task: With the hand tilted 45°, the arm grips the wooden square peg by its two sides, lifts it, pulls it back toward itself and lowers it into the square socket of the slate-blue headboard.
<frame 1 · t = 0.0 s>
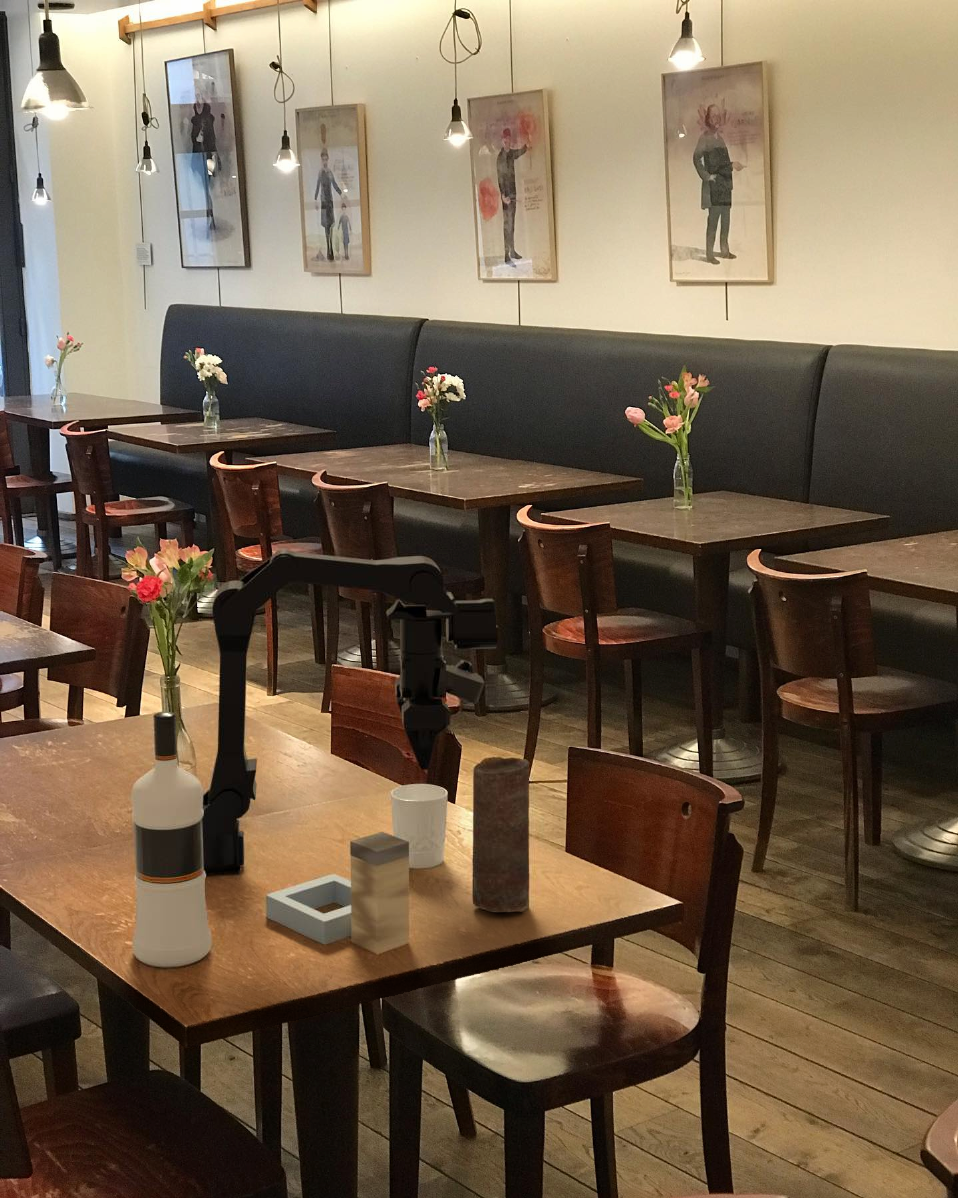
hand: (421, 759, 221), 15 cm above the table, tool pointing down, fingers open, 9 cm apart
brown textured cylinder: (500, 911, 207), on the table
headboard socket: (329, 919, 203), on the table
wooden square peg: (380, 942, 196), on the table
white cup: (419, 862, 224), on the table
vodka: (172, 956, 192), on the table
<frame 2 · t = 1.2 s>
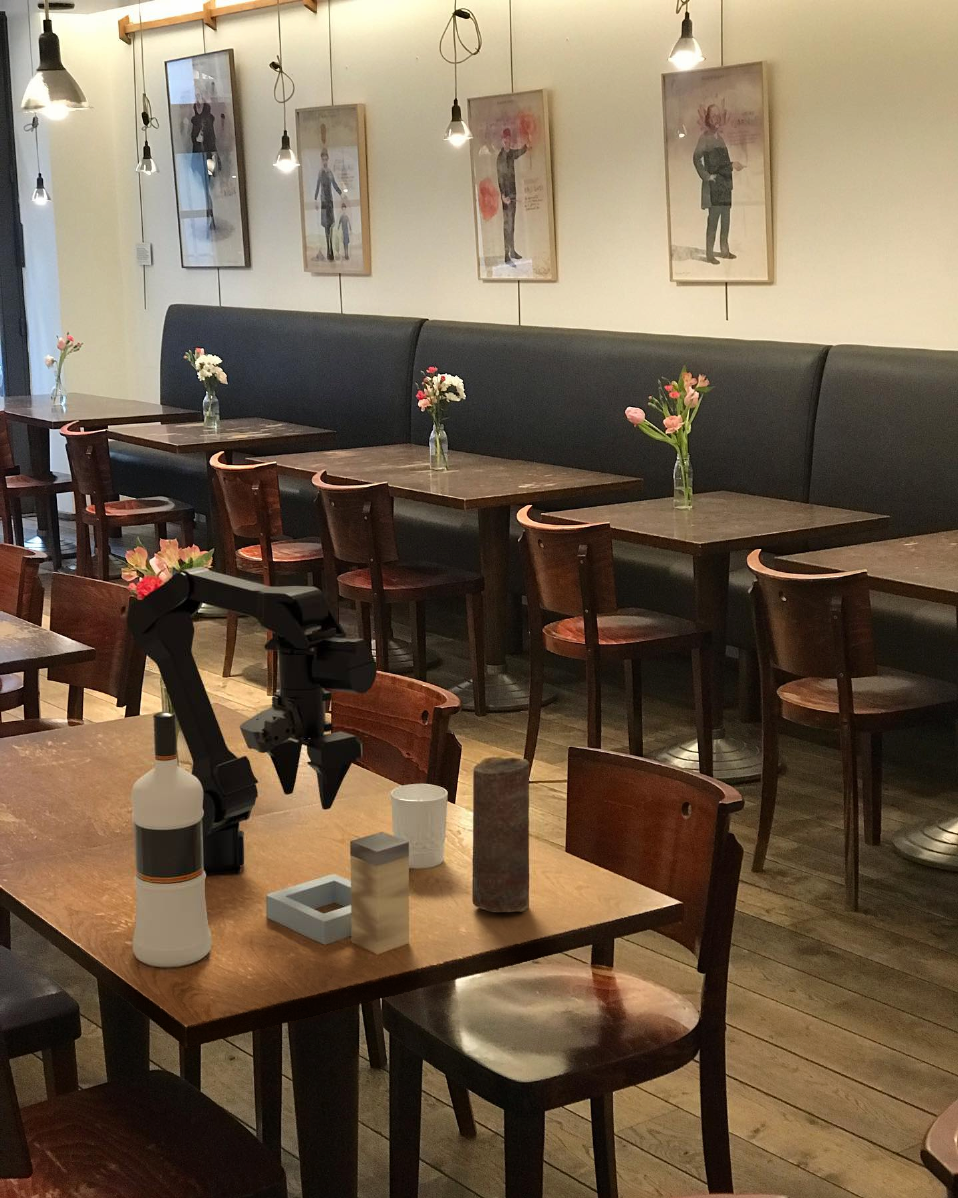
hand: (307, 801, 210), 13 cm above the table, tool pointing down, fingers open, 9 cm apart
nothing on the table moved.
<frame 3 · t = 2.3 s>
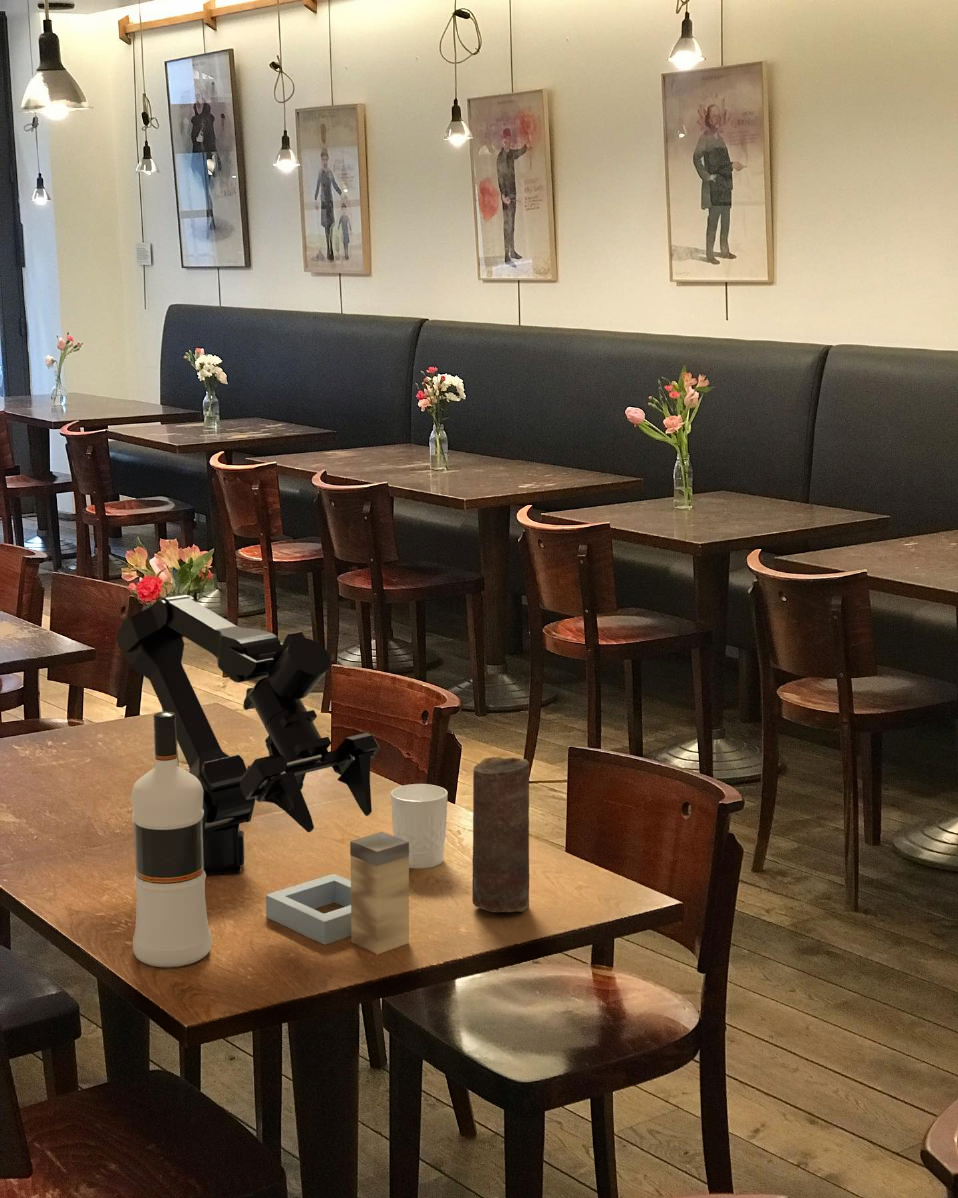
hand: (340, 822, 199), 13 cm above the table, tool tilted 45°, fingers open, 9 cm apart
nothing on the table moved.
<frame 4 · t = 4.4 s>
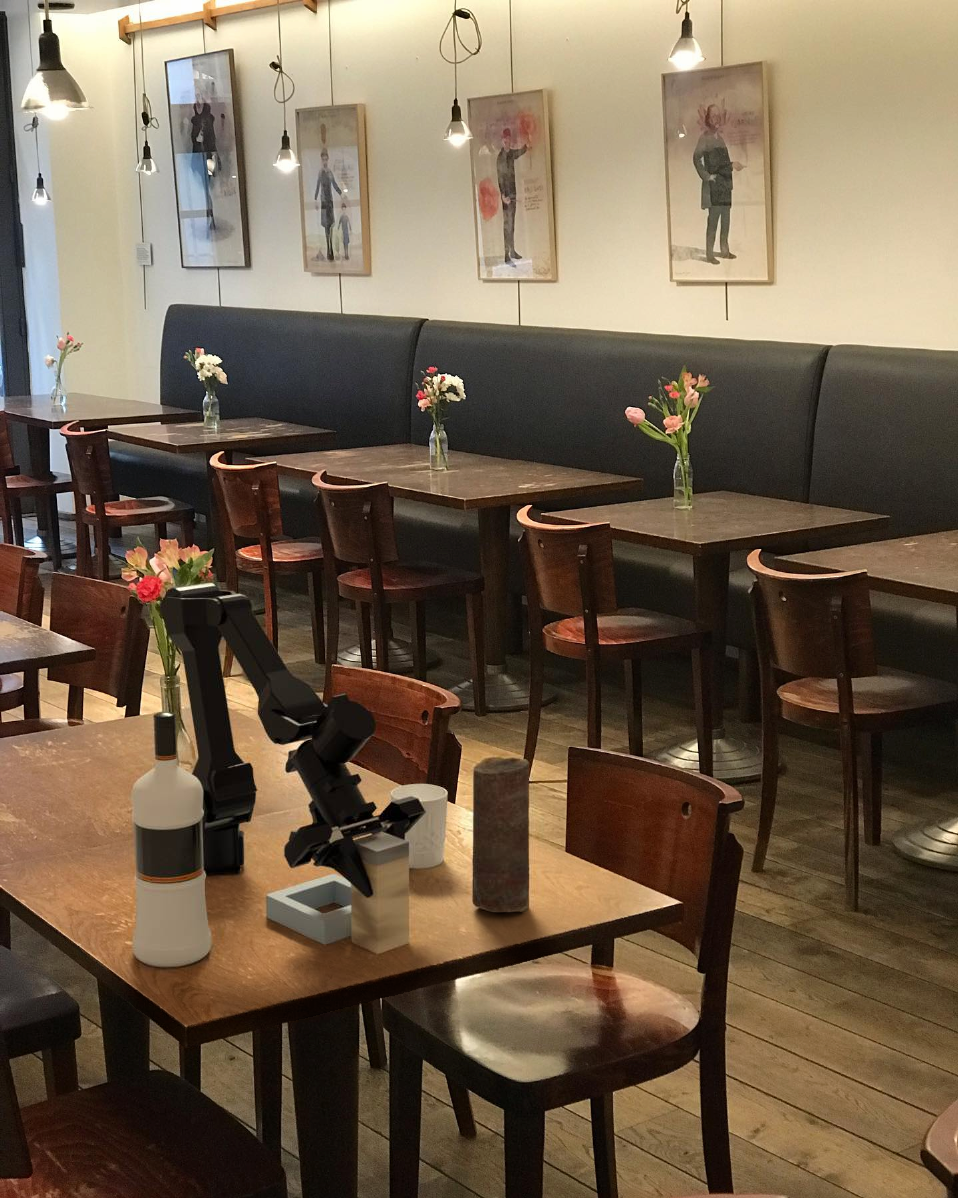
hand: (387, 890, 194), 7 cm above the table, tool tilted 45°, fingers closed on wooden square peg, 5 cm apart
wooden square peg: (380, 942, 196), on the table, touching gripper
everything else where it was.
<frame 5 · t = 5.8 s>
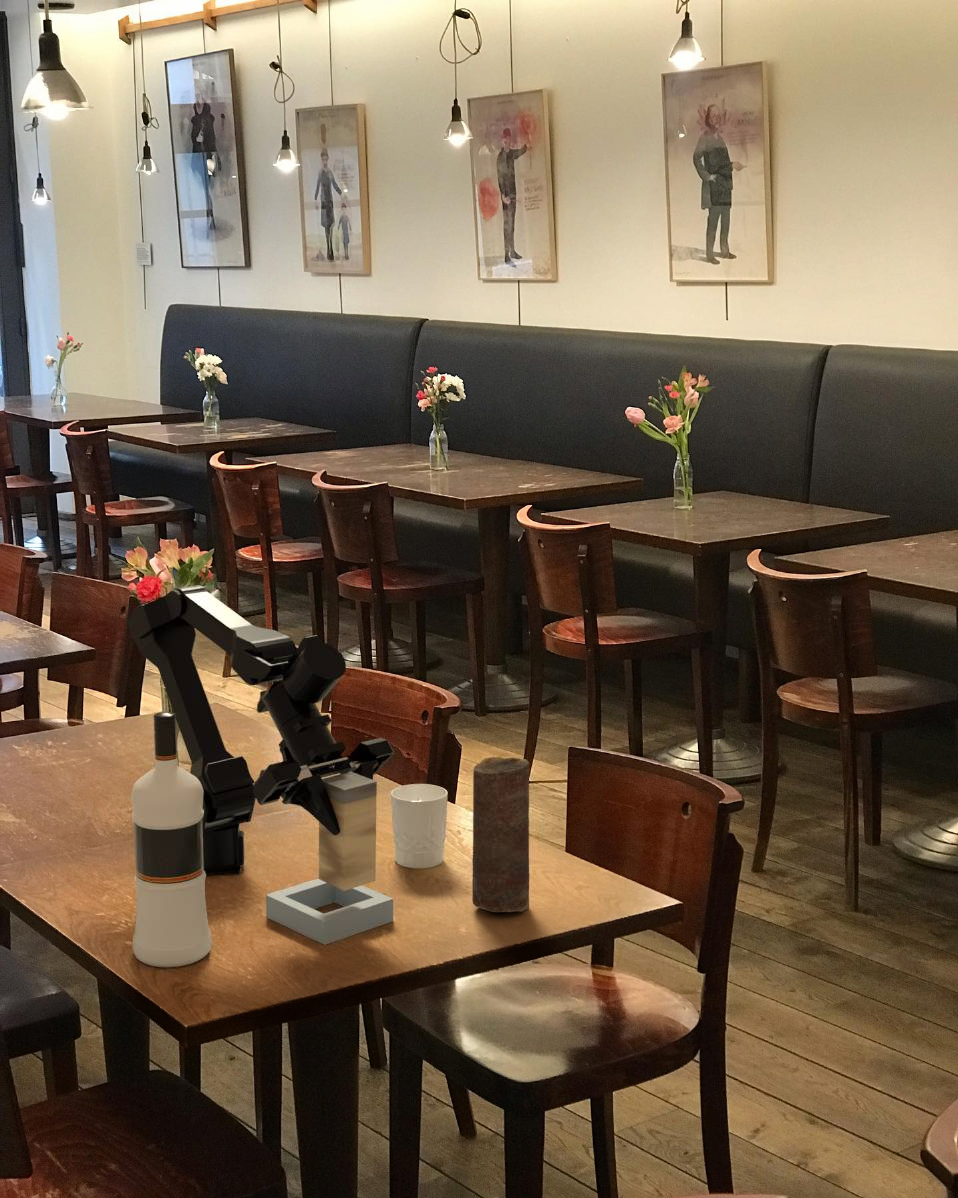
hand: (354, 829, 197), 13 cm above the table, tool tilted 45°, fingers closed on wooden square peg, 5 cm apart
wooden square peg: (347, 880, 199), point 6 cm above the table, touching gripper
everything else where it was.
when the fingers open (9 cm above the table, at t = 7.6 s): wooden square peg drops 2 cm, resting in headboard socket.
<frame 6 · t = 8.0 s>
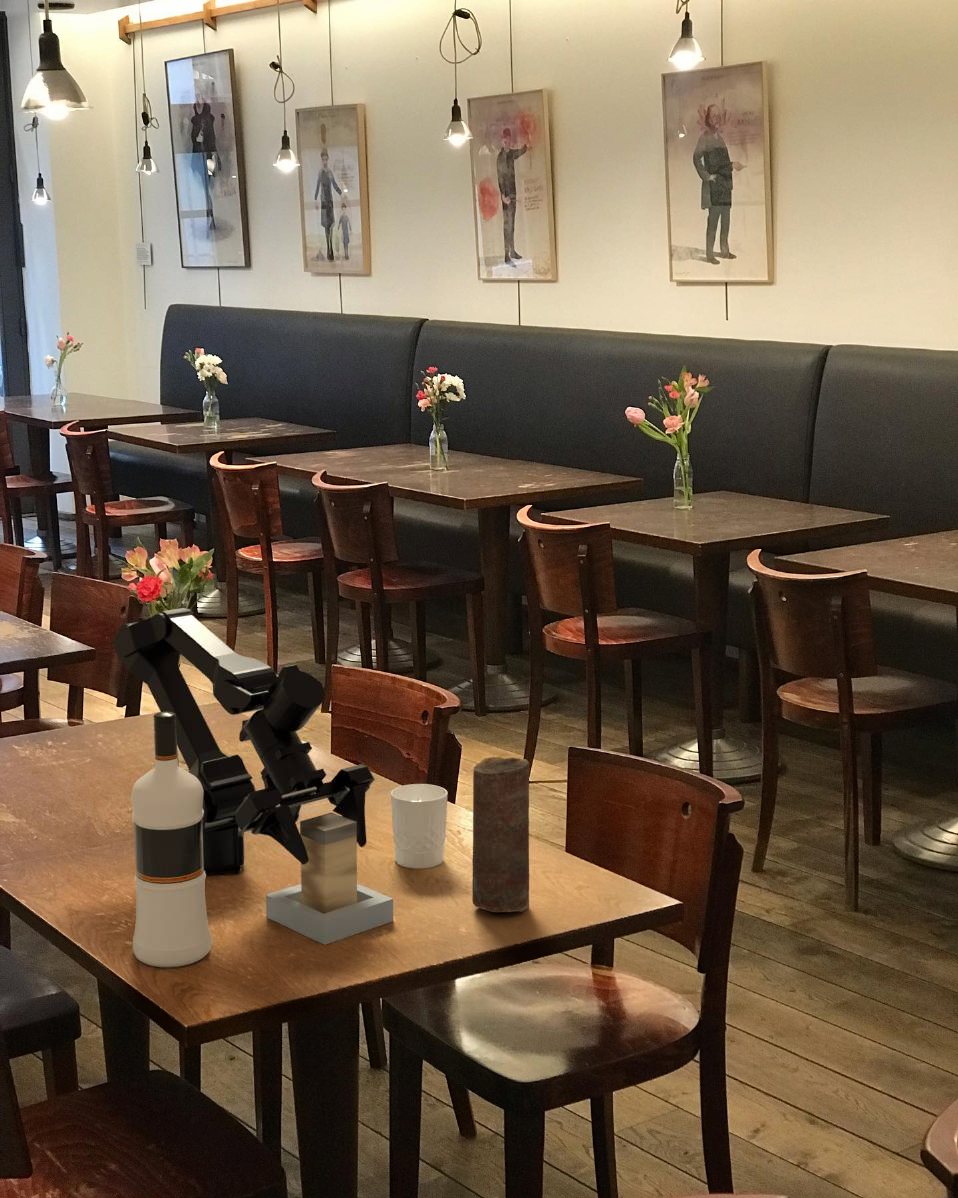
hand: (335, 854, 200), 9 cm above the table, tool tilted 45°, fingers open, 9 cm apart
wooden square peg: (329, 919, 203), resting in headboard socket
everything else where it was.
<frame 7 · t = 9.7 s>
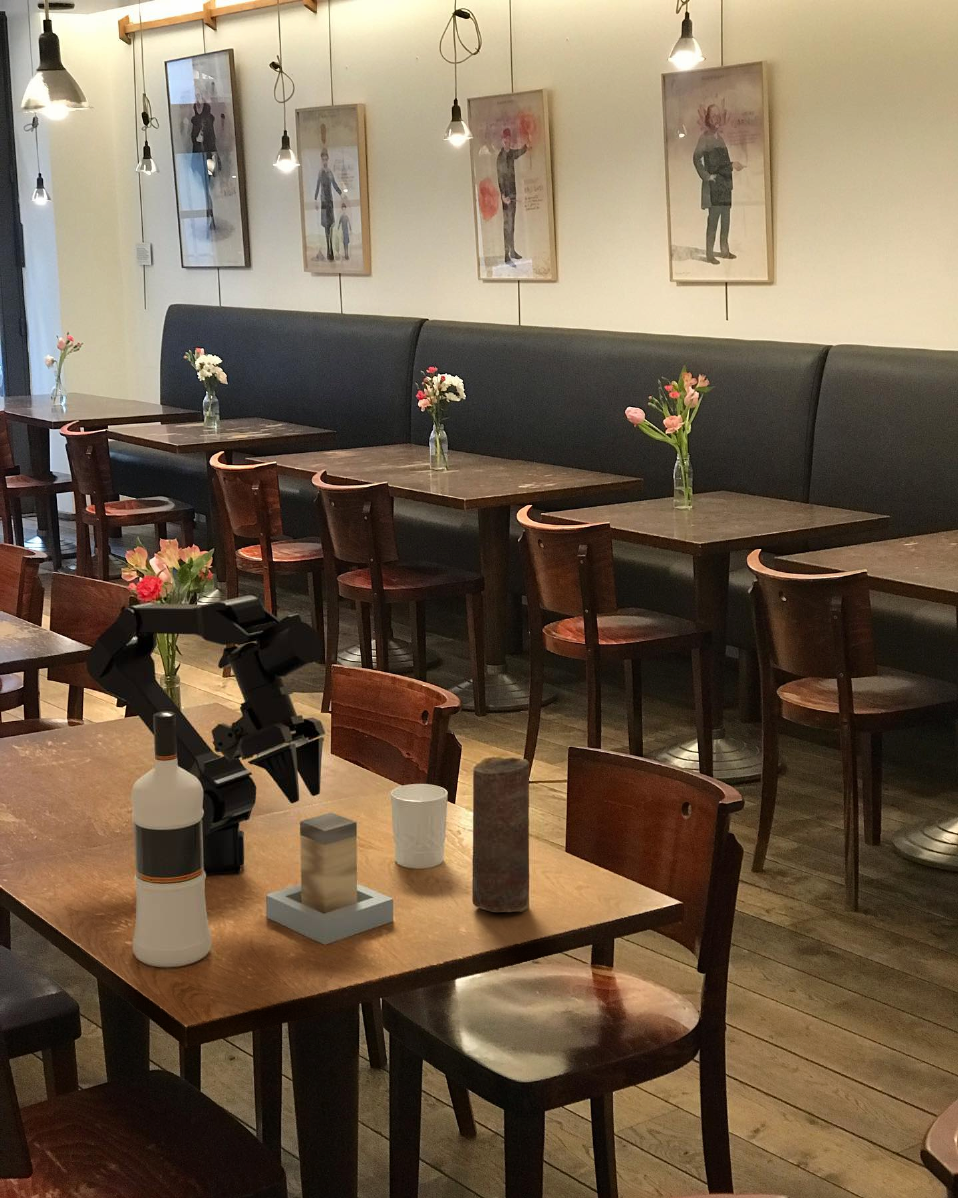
hand: (306, 798, 209), 13 cm above the table, tool tilted 30°, fingers open, 9 cm apart
nothing on the table moved.
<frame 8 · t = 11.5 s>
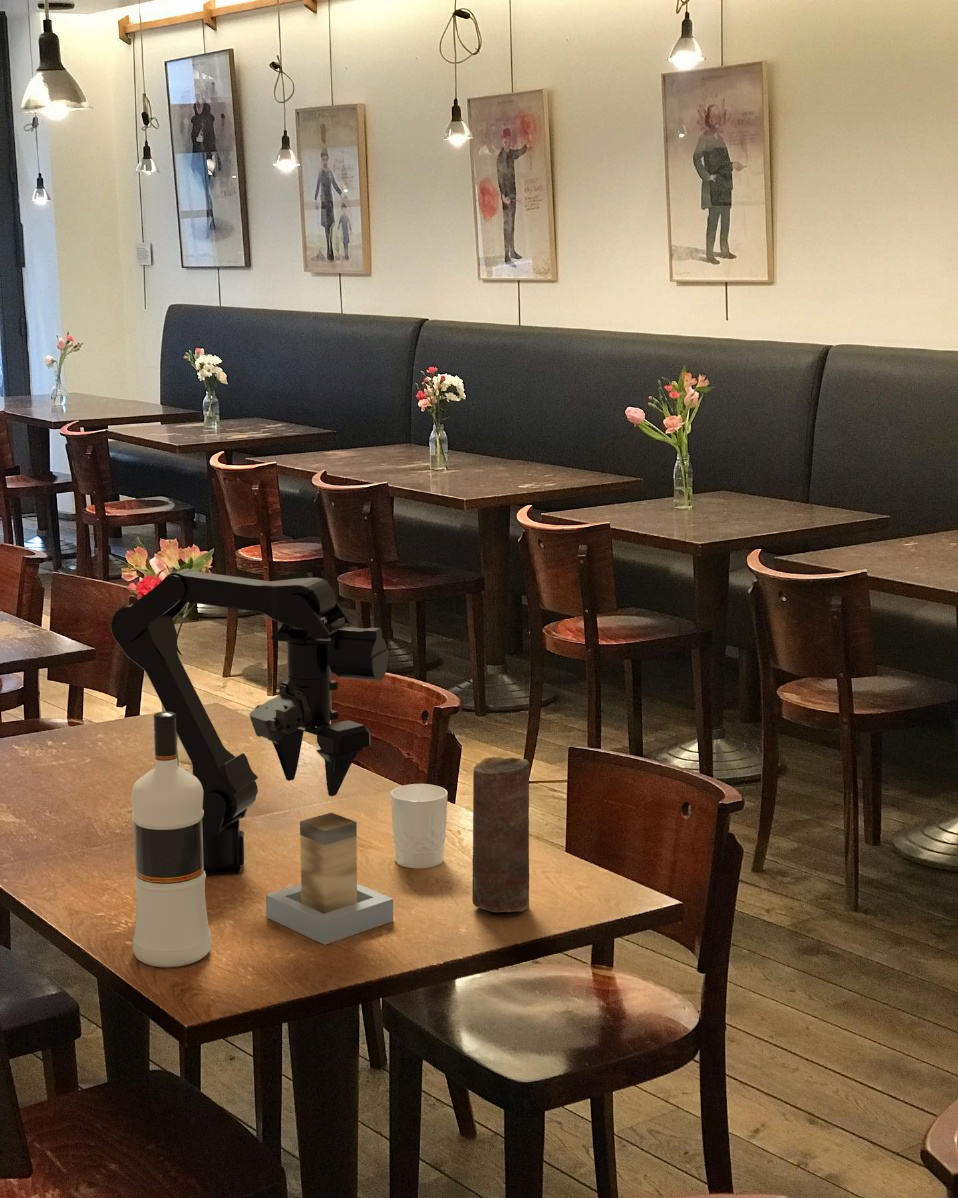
hand: (311, 787, 214), 13 cm above the table, tool pointing down, fingers open, 9 cm apart
nothing on the table moved.
at the end: wooden square peg 0.0 cm off-centre on the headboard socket, point 0.0 cm above the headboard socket's base; wooden square peg tilted 0°; the gripper is holding nothing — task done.
